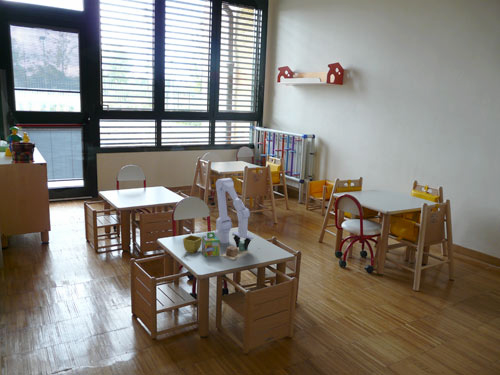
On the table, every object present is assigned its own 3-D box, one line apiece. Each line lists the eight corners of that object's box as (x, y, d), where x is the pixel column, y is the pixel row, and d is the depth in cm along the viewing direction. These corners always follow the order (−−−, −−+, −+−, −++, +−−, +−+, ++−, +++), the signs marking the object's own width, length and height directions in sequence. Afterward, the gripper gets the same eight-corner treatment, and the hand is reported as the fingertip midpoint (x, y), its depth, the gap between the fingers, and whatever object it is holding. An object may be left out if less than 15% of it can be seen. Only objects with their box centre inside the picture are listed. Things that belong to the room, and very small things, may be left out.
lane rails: (217, 257, 259) (217, 255, 259) (240, 245, 281) (240, 243, 281) (236, 263, 252) (236, 260, 252) (258, 250, 274) (258, 248, 274)
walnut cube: (226, 255, 259) (226, 247, 258) (230, 253, 263) (230, 245, 262) (232, 257, 256) (233, 249, 255) (237, 255, 261) (237, 247, 259)
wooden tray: (220, 257, 258) (220, 248, 257) (237, 248, 274) (237, 239, 273) (233, 261, 253) (234, 252, 252) (250, 252, 269) (251, 243, 268)
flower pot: (202, 250, 269) (202, 237, 267) (194, 255, 261) (194, 241, 259) (190, 248, 272) (190, 234, 270) (182, 252, 265) (182, 238, 263)
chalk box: (205, 259, 256) (205, 236, 253) (201, 253, 264) (201, 231, 261) (219, 258, 259) (220, 235, 256) (215, 252, 267) (216, 230, 264)
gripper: (229, 227, 266) (228, 247, 269) (249, 231, 259) (248, 252, 262) (235, 224, 272) (235, 244, 275) (255, 229, 265) (254, 249, 268)
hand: (241, 248), depth 269 cm, fingers closed on wooden tray, 5 cm apart
